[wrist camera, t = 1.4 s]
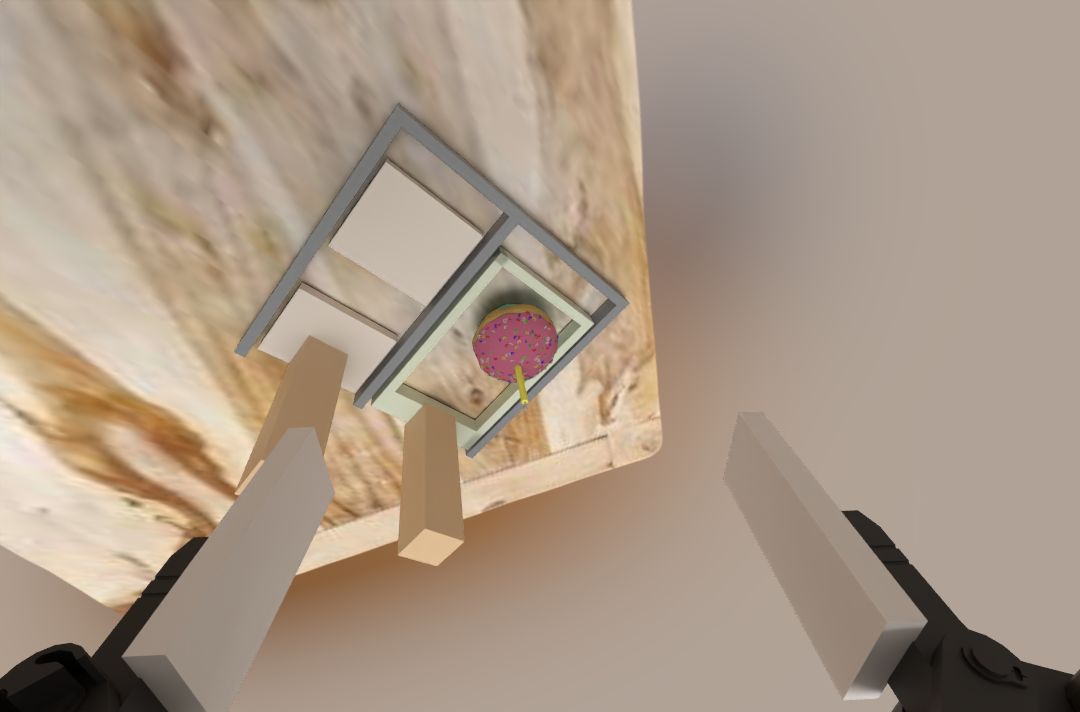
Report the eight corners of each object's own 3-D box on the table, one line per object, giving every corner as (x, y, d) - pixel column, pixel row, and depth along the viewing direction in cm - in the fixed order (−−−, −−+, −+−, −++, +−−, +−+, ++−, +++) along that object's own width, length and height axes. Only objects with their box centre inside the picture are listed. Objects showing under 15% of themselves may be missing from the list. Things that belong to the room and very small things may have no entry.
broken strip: (355, 386, 50) (328, 521, 36) (261, 341, 45) (187, 479, 31) (482, 231, 43) (508, 326, 29) (386, 158, 38) (364, 230, 24)
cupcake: (541, 354, 53) (567, 426, 43) (467, 354, 51) (477, 430, 41) (553, 287, 48) (585, 351, 38) (471, 284, 46) (483, 350, 36)
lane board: (471, 446, 59) (472, 458, 57) (240, 340, 44) (233, 352, 43) (622, 294, 50) (629, 303, 48) (398, 103, 36) (397, 106, 34)
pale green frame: (464, 440, 58) (476, 577, 43) (370, 397, 51) (348, 541, 36) (588, 314, 50) (653, 426, 36) (498, 244, 44) (533, 348, 29)
